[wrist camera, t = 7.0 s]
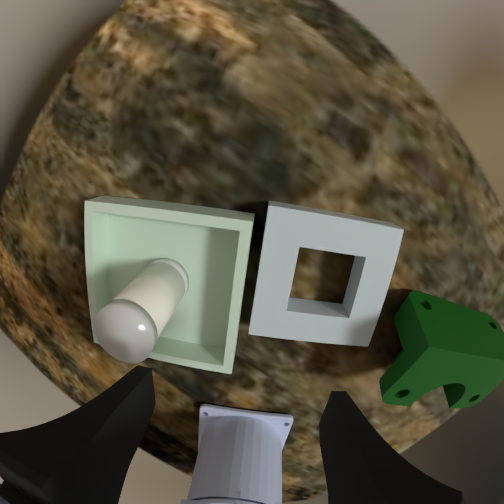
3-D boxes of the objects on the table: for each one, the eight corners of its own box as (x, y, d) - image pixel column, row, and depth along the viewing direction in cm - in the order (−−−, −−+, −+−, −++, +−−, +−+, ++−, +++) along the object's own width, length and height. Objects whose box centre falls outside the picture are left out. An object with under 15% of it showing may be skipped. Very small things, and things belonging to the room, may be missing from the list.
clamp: (377, 319, 25) (353, 391, 17) (411, 266, 21) (405, 332, 14) (470, 372, 21) (471, 447, 14) (509, 329, 18) (528, 403, 11)
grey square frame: (360, 331, 20) (368, 346, 18) (250, 318, 20) (248, 334, 18) (391, 222, 18) (403, 229, 16) (268, 200, 18) (268, 205, 16)
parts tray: (235, 352, 21) (231, 374, 19) (108, 325, 21) (94, 342, 19) (254, 213, 18) (252, 221, 16) (104, 195, 18) (84, 200, 16)
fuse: (187, 305, 19) (153, 369, 13) (145, 296, 20) (97, 353, 13) (190, 261, 19) (151, 314, 12) (145, 254, 19) (90, 299, 12)
